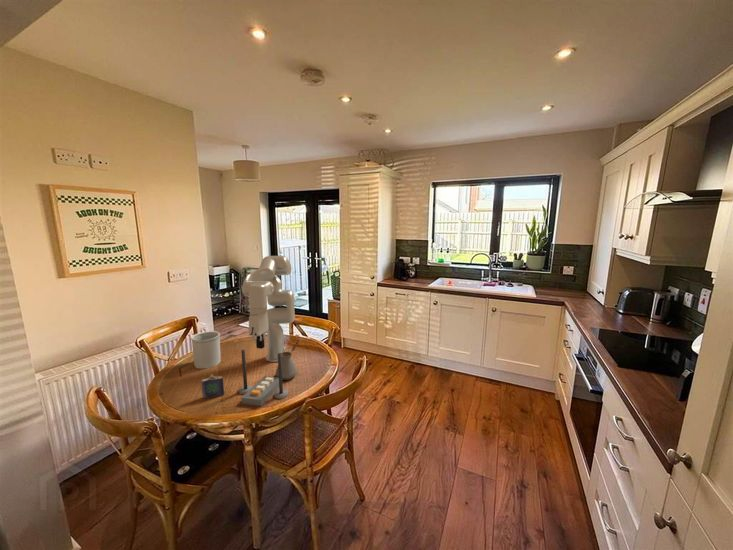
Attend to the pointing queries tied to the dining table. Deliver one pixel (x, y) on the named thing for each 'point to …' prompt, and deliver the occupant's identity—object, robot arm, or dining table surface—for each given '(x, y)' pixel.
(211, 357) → the utensil holder
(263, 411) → the dining table surface
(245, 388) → the post
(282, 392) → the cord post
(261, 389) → the breaker strip
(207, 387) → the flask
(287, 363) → the coffee pot
